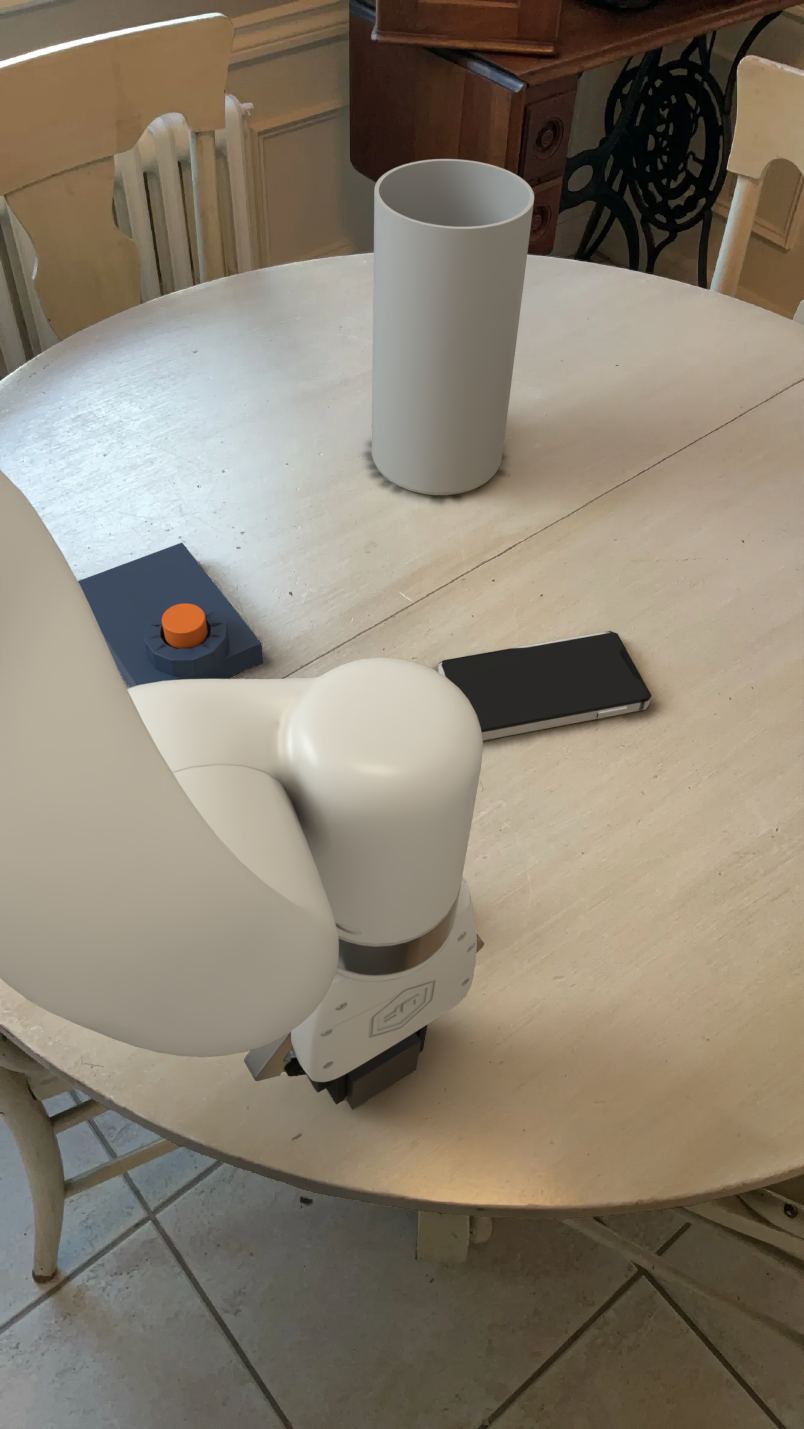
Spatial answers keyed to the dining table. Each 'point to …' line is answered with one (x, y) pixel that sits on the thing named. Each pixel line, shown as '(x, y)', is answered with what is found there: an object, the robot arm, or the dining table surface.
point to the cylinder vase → (445, 320)
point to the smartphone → (549, 684)
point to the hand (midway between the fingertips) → (366, 1055)
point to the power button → (184, 626)
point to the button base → (134, 620)
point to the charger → (382, 1071)
